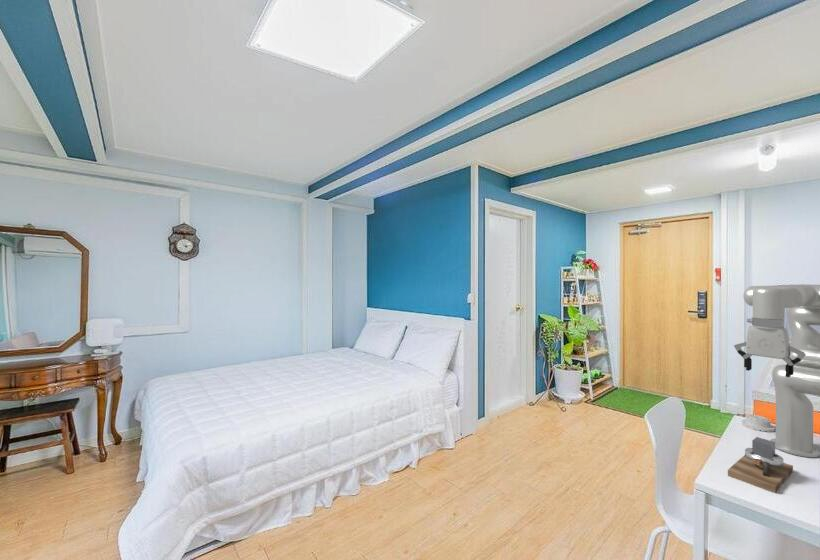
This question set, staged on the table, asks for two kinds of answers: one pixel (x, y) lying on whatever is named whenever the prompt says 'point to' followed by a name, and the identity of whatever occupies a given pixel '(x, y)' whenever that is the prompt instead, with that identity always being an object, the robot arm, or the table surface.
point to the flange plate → (772, 463)
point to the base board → (760, 474)
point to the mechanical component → (758, 423)
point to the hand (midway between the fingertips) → (767, 373)
